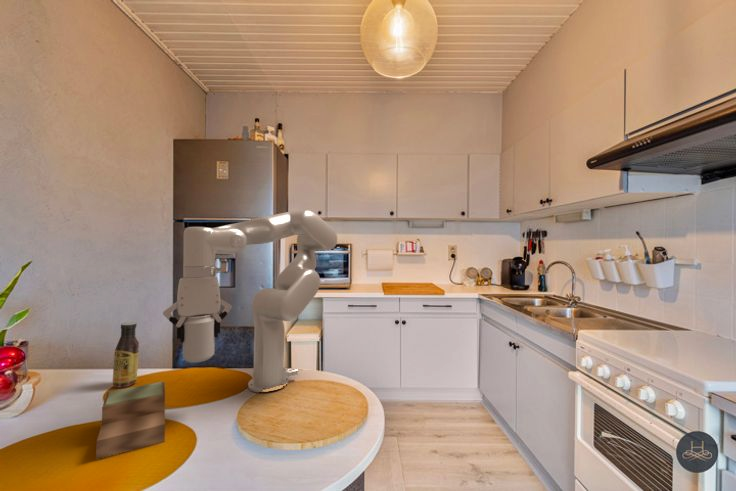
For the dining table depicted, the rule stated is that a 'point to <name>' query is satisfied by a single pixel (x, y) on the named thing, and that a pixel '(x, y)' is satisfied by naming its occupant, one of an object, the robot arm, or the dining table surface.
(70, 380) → the dining table surface
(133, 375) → the sauce bottle
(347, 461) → the dining table surface
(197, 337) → the can
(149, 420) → the step stand
